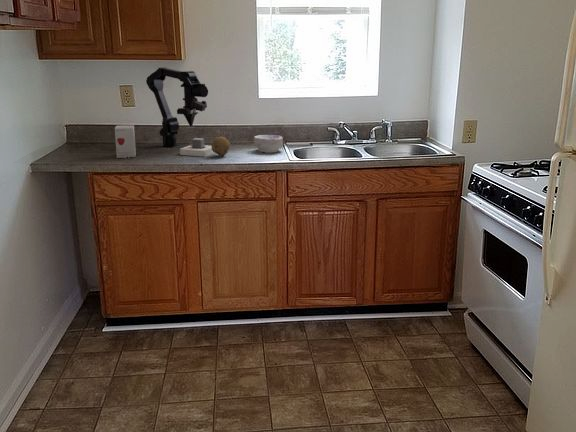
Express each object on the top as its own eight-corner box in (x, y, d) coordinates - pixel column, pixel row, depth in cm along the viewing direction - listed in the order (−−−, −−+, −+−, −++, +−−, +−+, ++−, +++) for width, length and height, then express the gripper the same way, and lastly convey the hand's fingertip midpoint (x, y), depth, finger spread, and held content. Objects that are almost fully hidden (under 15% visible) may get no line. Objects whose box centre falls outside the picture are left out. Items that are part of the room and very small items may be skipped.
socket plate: (180, 154, 283) (179, 147, 282) (192, 149, 295) (192, 142, 294) (204, 156, 279) (204, 149, 278) (216, 151, 291) (216, 144, 290)
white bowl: (284, 149, 300) (284, 134, 298) (281, 154, 286) (281, 139, 284) (256, 148, 302) (256, 133, 299) (251, 153, 287) (251, 138, 285)
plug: (192, 151, 286) (191, 139, 284) (196, 150, 289) (195, 137, 287) (201, 152, 284) (200, 139, 282) (204, 150, 288) (204, 138, 286)
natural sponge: (214, 158, 275) (213, 138, 272) (209, 155, 283) (209, 135, 280) (231, 157, 278) (231, 137, 275) (227, 154, 286) (226, 134, 283)
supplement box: (116, 158, 273) (113, 127, 268) (118, 154, 281) (115, 125, 277) (135, 157, 275) (133, 127, 270) (136, 154, 283) (134, 124, 278)
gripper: (195, 98, 277) (196, 129, 282) (211, 95, 294) (212, 124, 299) (175, 97, 281) (177, 128, 285) (192, 94, 298) (194, 123, 302)
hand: (191, 126), depth 293 cm, fingers closed
